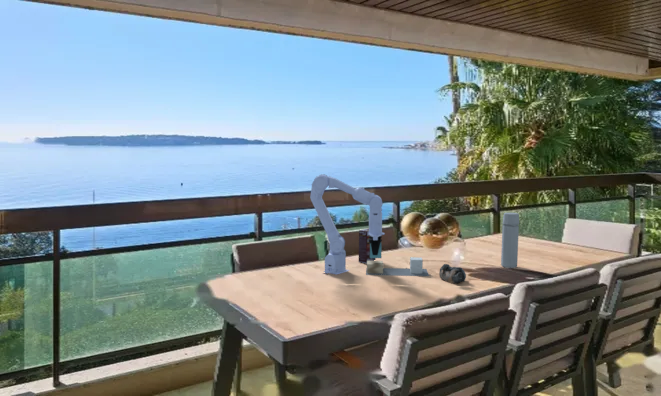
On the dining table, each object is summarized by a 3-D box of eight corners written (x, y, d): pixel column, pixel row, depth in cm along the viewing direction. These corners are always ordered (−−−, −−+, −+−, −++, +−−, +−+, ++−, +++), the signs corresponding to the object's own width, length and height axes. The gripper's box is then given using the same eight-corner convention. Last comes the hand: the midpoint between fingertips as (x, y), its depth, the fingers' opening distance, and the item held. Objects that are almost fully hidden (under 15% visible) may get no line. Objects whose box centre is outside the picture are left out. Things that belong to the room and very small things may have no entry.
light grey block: (410, 273, 220) (411, 259, 219) (410, 270, 225) (410, 257, 224) (422, 273, 220) (422, 260, 219) (421, 270, 225) (421, 257, 224)
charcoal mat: (365, 276, 218) (365, 274, 218) (366, 268, 231) (366, 267, 230) (429, 277, 215) (429, 276, 215) (426, 270, 228) (426, 268, 228)
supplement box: (366, 264, 239) (366, 231, 237) (358, 263, 242) (358, 230, 240) (376, 261, 246) (376, 229, 244) (367, 259, 249) (368, 228, 247)
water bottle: (519, 269, 230) (521, 214, 227) (501, 268, 232) (503, 214, 229) (516, 264, 239) (518, 212, 236) (498, 263, 241) (500, 211, 238)
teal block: (369, 257, 221) (369, 244, 220) (370, 255, 226) (370, 242, 225) (381, 258, 220) (381, 244, 219) (381, 255, 225) (381, 242, 224)
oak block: (366, 273, 220) (367, 264, 220) (367, 269, 227) (367, 260, 227) (383, 273, 220) (383, 264, 219) (382, 269, 227) (382, 260, 226)
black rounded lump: (440, 278, 215) (431, 282, 207) (441, 262, 215) (432, 265, 206) (468, 282, 209) (460, 287, 200) (469, 266, 208) (461, 269, 200)
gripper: (384, 225, 214) (384, 257, 215) (384, 220, 228) (384, 250, 230) (368, 225, 214) (368, 256, 216) (368, 220, 229) (368, 250, 230)
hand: (375, 253), depth 223 cm, fingers closed on teal block, 5 cm apart
